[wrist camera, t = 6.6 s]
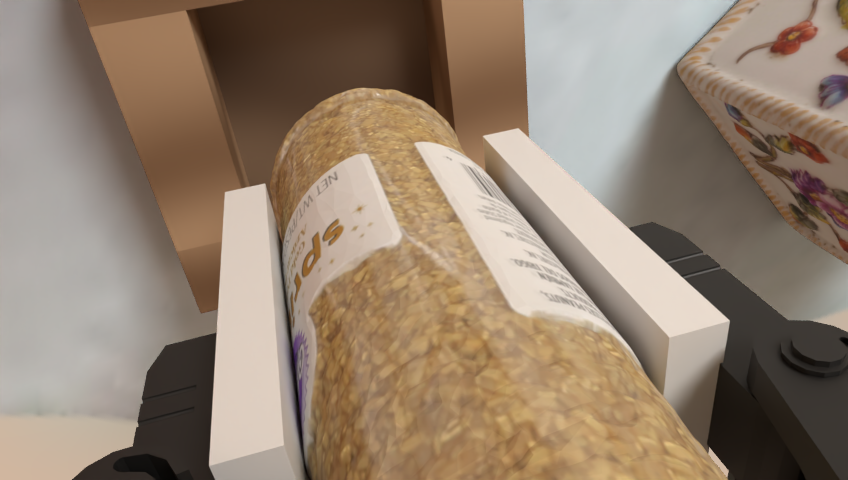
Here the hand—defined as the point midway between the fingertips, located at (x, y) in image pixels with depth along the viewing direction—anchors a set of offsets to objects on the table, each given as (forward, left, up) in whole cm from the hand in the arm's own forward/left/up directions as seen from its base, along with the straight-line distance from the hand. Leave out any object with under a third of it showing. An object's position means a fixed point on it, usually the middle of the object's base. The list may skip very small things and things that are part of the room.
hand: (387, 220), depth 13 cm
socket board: (0, 0, -10) cm, 10 cm away
